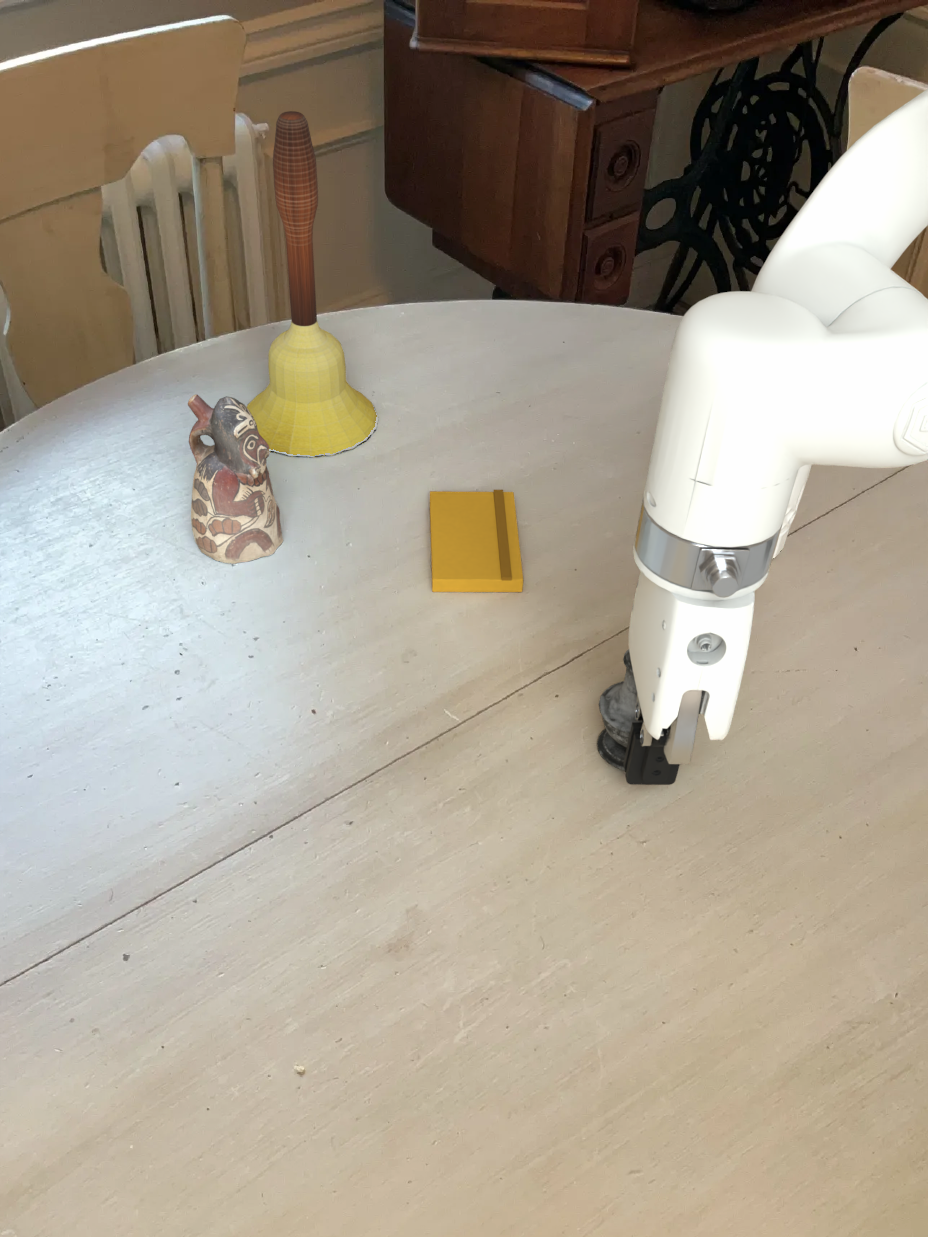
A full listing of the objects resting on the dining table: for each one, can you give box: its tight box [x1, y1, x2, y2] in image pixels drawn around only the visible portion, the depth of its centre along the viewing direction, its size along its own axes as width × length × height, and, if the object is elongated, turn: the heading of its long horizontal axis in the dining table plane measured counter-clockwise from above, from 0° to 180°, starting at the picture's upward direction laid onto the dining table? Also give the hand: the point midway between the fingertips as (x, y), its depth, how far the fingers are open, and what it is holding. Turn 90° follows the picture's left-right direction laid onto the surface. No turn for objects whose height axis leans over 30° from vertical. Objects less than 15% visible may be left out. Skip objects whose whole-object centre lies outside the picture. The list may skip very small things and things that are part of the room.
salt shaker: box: [596, 648, 642, 772], centre depth 82 cm, size 6×6×12 cm
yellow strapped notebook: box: [429, 489, 524, 593], centre depth 101 cm, size 12×7×1 cm, turn 2°
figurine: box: [187, 394, 284, 565], centre depth 97 cm, size 7×7×12 cm
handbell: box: [246, 110, 378, 456], centre depth 104 cm, size 12×12×25 cm
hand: (648, 775), depth 82 cm, fingers closed
